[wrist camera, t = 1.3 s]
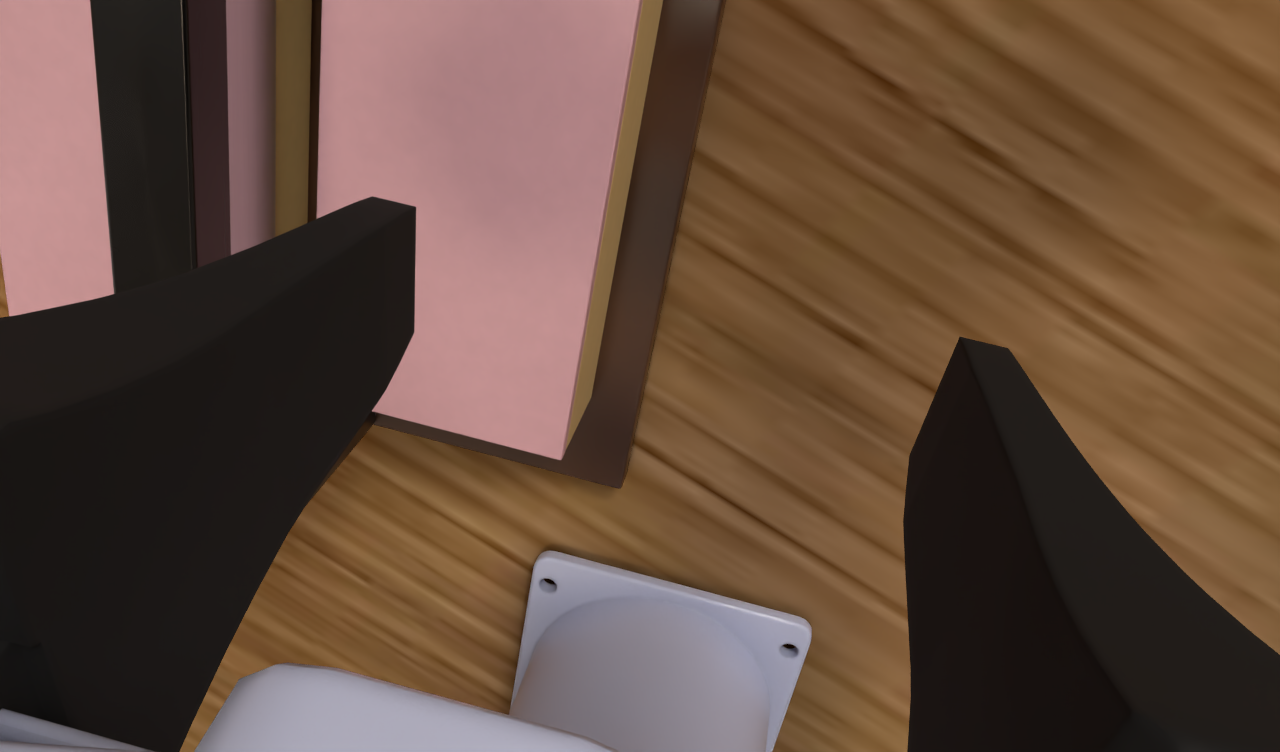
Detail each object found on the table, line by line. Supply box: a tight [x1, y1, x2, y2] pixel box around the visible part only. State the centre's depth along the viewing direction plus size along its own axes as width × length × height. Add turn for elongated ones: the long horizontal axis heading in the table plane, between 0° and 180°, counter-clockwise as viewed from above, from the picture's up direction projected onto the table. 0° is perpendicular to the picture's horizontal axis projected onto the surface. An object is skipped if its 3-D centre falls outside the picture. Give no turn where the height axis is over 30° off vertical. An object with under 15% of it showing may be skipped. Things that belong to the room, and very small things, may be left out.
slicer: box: [306, 0, 726, 505], centre depth 21 cm, size 18×16×7 cm
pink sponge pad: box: [0, 0, 663, 460], centre depth 22 cm, size 13×14×3 cm
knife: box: [90, 0, 276, 294], centre depth 18 cm, size 14×2×4 cm, turn 170°
